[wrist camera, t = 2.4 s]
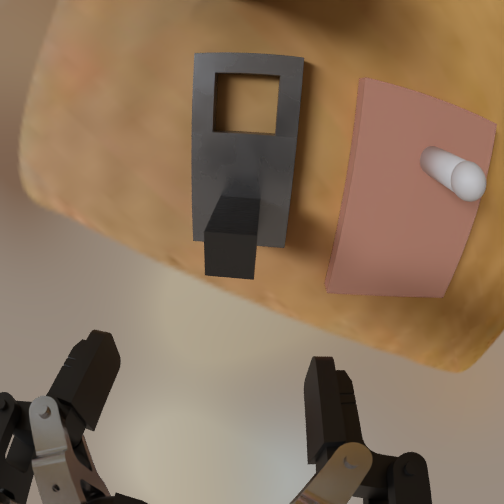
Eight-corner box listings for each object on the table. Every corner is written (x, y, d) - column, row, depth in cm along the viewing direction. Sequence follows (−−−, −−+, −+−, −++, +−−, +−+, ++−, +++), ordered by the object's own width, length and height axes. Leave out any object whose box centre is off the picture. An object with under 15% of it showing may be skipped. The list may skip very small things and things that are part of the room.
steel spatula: (198, 55, 17) (165, 39, 11) (302, 59, 17) (317, 42, 11) (196, 234, 25) (172, 284, 18) (283, 240, 25) (287, 295, 18)
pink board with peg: (359, 78, 17) (404, 72, 11) (486, 121, 17) (547, 142, 10) (324, 282, 26) (338, 347, 20) (437, 288, 26) (468, 341, 19)
